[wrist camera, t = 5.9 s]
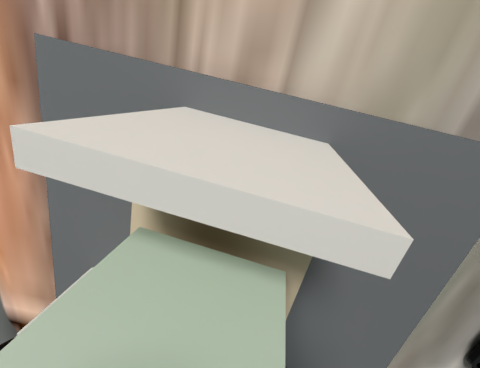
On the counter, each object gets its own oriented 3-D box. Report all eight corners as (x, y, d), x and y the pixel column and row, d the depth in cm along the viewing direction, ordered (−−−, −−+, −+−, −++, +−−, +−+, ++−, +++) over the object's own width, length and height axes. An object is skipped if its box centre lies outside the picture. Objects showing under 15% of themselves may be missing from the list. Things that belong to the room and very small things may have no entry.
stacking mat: (516, 150, 11) (1305, 339, 2) (344, 405, 18) (394, 666, 10) (52, 37, 13) (-394, -74, 4) (68, 309, 20) (-86, 460, 12)
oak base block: (311, 190, 12) (322, 232, 8) (272, 294, 15) (268, 361, 11) (178, 153, 13) (133, 178, 9) (164, 259, 15) (125, 313, 11)
